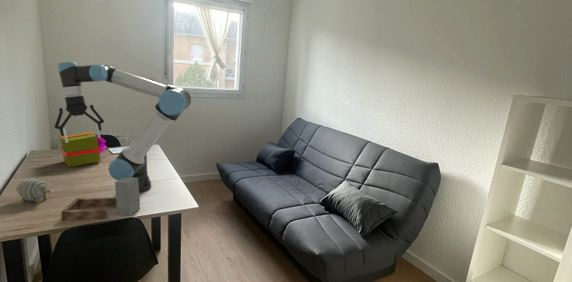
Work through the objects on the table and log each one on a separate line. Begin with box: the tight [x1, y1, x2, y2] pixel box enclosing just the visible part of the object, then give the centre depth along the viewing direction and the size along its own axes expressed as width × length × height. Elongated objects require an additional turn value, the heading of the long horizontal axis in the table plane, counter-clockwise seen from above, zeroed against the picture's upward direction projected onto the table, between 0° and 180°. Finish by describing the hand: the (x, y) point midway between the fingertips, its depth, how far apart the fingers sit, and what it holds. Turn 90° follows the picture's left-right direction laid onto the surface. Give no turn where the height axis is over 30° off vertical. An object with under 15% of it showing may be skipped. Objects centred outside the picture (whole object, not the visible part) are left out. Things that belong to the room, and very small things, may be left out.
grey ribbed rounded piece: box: [16, 178, 51, 204], centre depth 154 cm, size 11×17×11 cm, turn 86°
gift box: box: [59, 131, 108, 168], centre depth 214 cm, size 21×21×25 cm
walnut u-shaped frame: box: [61, 197, 117, 221], centre depth 147 cm, size 18×14×4 cm
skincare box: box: [114, 177, 141, 216], centre depth 149 cm, size 8×7×16 cm
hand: (83, 139), depth 156 cm, fingers open, 13 cm apart
